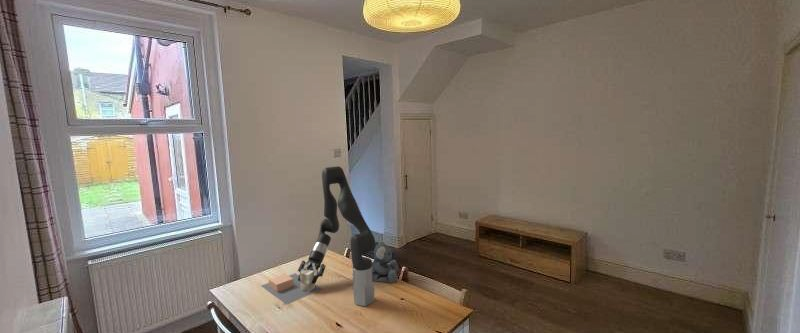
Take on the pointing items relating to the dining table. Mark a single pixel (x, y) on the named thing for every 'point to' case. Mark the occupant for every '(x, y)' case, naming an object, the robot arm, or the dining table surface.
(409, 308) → the dining table surface
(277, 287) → the terracotta brick
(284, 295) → the building mat
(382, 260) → the koala plush
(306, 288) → the cream block
